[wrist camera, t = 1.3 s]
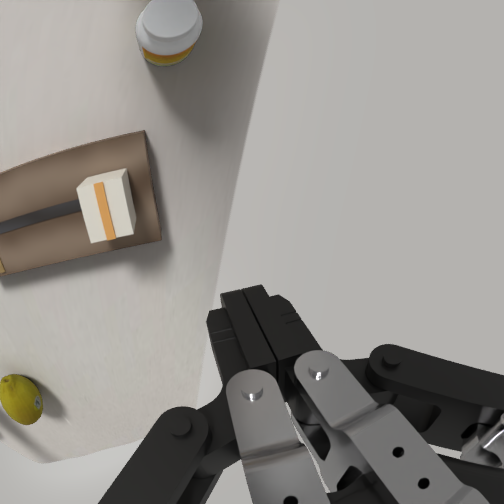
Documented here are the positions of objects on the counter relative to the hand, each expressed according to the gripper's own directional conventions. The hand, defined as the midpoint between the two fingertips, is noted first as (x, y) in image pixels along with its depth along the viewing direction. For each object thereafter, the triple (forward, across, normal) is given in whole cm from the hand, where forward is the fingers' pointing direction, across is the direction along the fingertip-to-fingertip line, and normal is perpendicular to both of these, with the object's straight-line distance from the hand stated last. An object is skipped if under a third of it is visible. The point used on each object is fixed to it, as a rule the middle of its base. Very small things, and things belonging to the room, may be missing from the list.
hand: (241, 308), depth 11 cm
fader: (+20, +8, 0) cm, 21 cm away
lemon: (+23, +34, +26) cm, 49 cm away
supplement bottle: (+23, 0, -14) cm, 27 cm away
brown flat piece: (+23, +16, 0) cm, 27 cm away
